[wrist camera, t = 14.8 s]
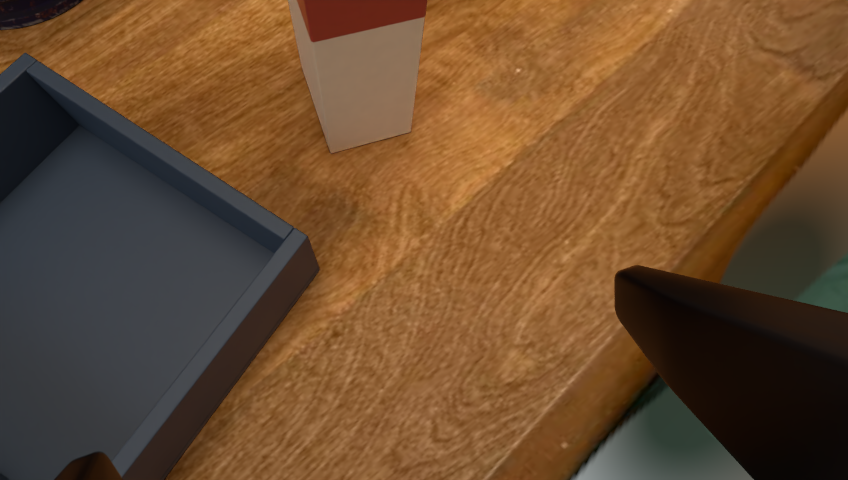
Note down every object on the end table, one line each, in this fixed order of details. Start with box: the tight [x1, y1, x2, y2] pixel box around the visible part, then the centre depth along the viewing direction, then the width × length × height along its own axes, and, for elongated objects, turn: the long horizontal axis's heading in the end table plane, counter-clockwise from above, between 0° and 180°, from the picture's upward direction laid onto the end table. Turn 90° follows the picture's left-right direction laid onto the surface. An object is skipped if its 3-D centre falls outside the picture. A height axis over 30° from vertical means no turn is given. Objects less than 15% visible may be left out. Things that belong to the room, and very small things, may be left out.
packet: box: [288, 0, 427, 153], centre depth 21 cm, size 5×4×12 cm
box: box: [0, 53, 320, 480], centre depth 20 cm, size 13×13×4 cm
